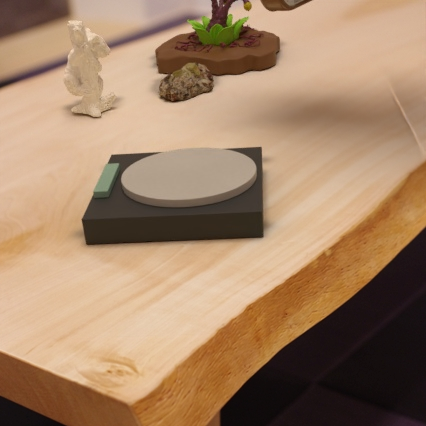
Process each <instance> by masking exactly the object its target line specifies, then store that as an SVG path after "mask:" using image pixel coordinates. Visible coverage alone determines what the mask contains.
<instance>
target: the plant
mask: <svg viewBox="0 0 426 426" xmlns="http://www.w3.org/2000/svg"><path fill="white" fill-rule="evenodd" d="M210 1H211V18H209V17H208V16H206V15H201V23H200V22H199V21H197V20H194V19H189V18H188V19H187V20H186V21H187V23H188V24H189V25H191V29H193V30H194V31H191V32H186V33H180V34H177V35H175V36H173V37H171V38H170V39H168V40H166V41H164V42H163V43H161V45H158V47H156V48H155V51H154V53H155V61H156V64H157V72H158V73H159V74H167V75H172V73H173V72H175V71H177V70H180V69H182V68H183V67H184V66H185V65H186V64H187V63H197V64H201V65H205V66H206V67H207V69H208V70H209V71H210V72H211V73H212V75H215V76H222V75H241V74H243V73H245V72H246V73H247V72H248V71H262V70H266V69H270V68H272V67H274V66H275V65H276V63H277V52H280V50H281V38H280V36H279V35H276V34H275V33H273V32H270V31H266V30H259V29H257V28H254V27H251V26H250V24H246V25H244V24H245V23H246V22H247V21H248V20H249V19H250V16H246V17H245V16H244V17H242V18H239V19H238V20H236V21H235V22H234V23H233V18H234V16H233V14H232V13H229V11H230V8H232V5H233V4H234V3H236V2H238V1H239V0H210ZM241 1H242V3H243V9H244V11H246V12H250V11H251V10H252V7H253V5H252V2H251V1H250V0H241Z"/></svg>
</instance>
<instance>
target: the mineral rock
mask: <svg viewBox="0 0 426 426" xmlns="http://www.w3.org/2000/svg"><path fill="white" fill-rule="evenodd" d="M213 75H214V74H212V73H211V72H210V71H209V70H208V69H207V67H206V66H205V65H201V64H197V63H187V64H186V65H185V66H184V67H183V68H182V69H180V70H177V71H175V72H173V73H172V74H167V75H166V76H165V77H164V78H163V79H161V80H160V84H159V86H158V92H157V93H158V95H159V96H160V97H163V98H164V99H165V100H168V101H169V100H170V102H176V101H184V100H190V99H191V98H195V97H197V96H198V95H200V94H203V93H208V92H210V91H212V90H213V89H214V85H215V84H214V76H213Z"/></svg>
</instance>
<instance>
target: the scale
mask: <svg viewBox="0 0 426 426" xmlns="http://www.w3.org/2000/svg"><path fill="white" fill-rule="evenodd" d="M263 167H264V166H263V148H262V146H250V147H249V146H248V147H231V148H229V147H227V148H218V147H187V148H177V149H172V150H167V151H156V152H155V151H154V152H135V153H116V154H111V155H110V156H109V159H108V161H107V163H106V164H105V165H104V167H103V169H102V172H101V174H100V176H99V178H98V181H97V183H96V185H95V187H94V189H93V191H92V196H91V197H90V201H89V203H88V204H87V207H86V209H85V211H84V214H83V216H82V217H81V225H82V229H83V235H84V240H85V244H86V245H101V244H100V243H105V244H123V242H128V243H148V242H147V241H152V242H171V241H170V240H175V241H194V240H195V241H196V240H197V241H198V239H199V240H219V239H220V240H221V239H243V238H246V239H247V238H263V237H264V176H263V175H264V173H263V171H264V170H263Z"/></svg>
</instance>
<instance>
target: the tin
mask: <svg viewBox="0 0 426 426" xmlns="http://www.w3.org/2000/svg"><path fill="white" fill-rule="evenodd" d="M310 2H313V0H260V3H261V4H262V6H263V7H264V9H266V10H267V11H268V12H272V13H273V12H274V13H275V12H289V11H293V10H296V9H298V8H300V7H302V6H304V5H306V4H308V3H310Z"/></svg>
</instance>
